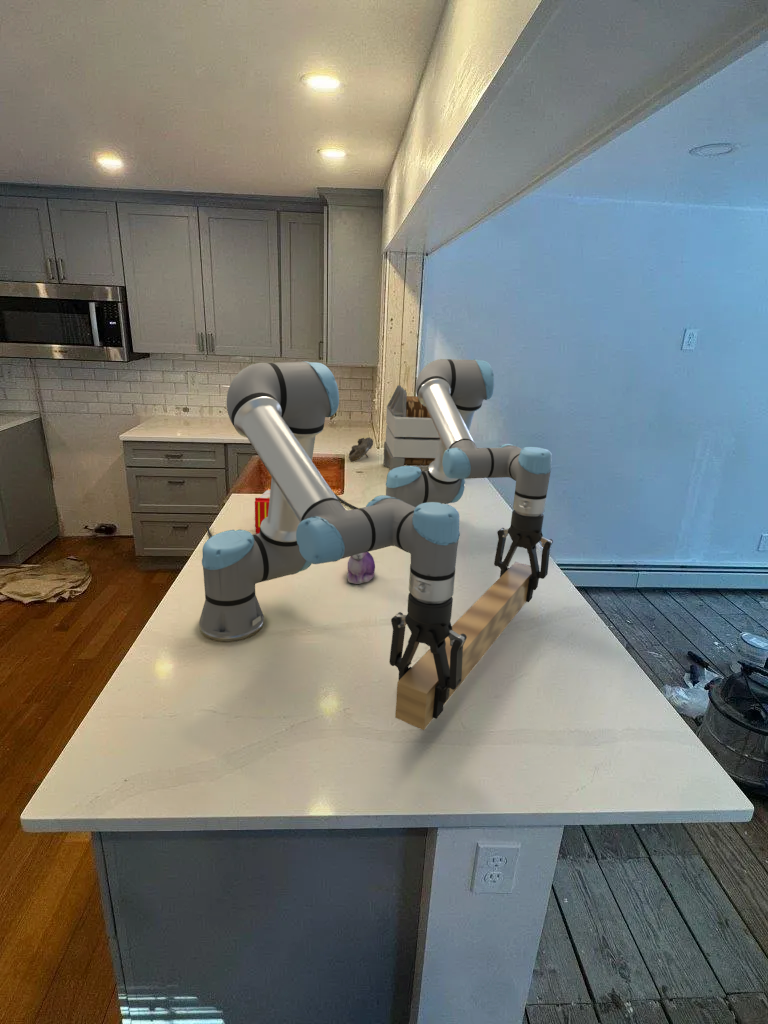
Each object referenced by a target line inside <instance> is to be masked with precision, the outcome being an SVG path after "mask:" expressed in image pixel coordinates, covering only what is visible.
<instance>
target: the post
mask: <svg viewBox="0 0 768 1024" xmlns="http://www.w3.org/2000/svg"><path fill="white" fill-rule="evenodd" d="M508 568H509V569H508V570H507V571H506V572H505V573H504V574H503V575H502V576H501V577H500V576H499V577H498V578H497V580H496V581H495V582H494V583H493V584H492V585H491V586H490V587H489V588H488V589H487V590H486V591H484V593H483V594H482V595H481V596H480V597H479V598H478V599H477V600H476V601H475V602H474V603H473V604H472V605H471V606H470V607H469V608H468V609H467V610H466V611H465V612H464V613H463V614H462V615H461V616H460V617H459V618H458V619H457V620H456V621H455V622H454V623H453V624H452V625H451V626H452V630H453V631H454V632H456V633H458V634H459V635H461V634H462V633H463V634H465V635H466V637H467V638H466V641H465V643H464V645H463V657H462V680H461V682H460V684H459V685H458V686H457V687H456V689H454V690H452V689H451V688H450V692H449V698H448V700H447V701H446V702H445V703H444V705H445V704H446V703H447V702H448V701H449V700H450V698H451V697H453V694H454V693H455V692H456V691H457V689H458V688H459V687H460V685H462V683H463V682H464V681H465V680H466V678H467V677H468V676H469V675H470V673H471V672H472V671H473V669H474V668H475V667H476V665H478V663H479V662H480V661H481V659H482V658H483V657H484V656H485V654H486V653H487V652H488V651H489V649H490V648H491V647H492V645H493V644H494V643H496V641H497V639H498V638H499V637H500V635H502V633H503V632H504V631H505V629H506V628H507V627H508V626H509V625H510V623H511V622H512V620H513V619H514V618H515V617H516V616H517V614H518V613H519V612H520V610H521V609H523V607H524V606H525V604H527V602H526V597H527V590H528V583H529V578H530V577H531V576H532V571H531V566H530V564H526V563H522V562H518V561H514V562H513V564H511V566H509V567H508ZM445 642H446V646H445V649H446V654H447V659H448V664H449V669H450V652H451V648H452V646H450V638H449V637H447V638H445ZM411 667H412V668H411V669H410V670H409V671H408V672H407V673H406V674H405V675H404V676H403V677H402V678H401V679H400V680H399V679H398V680H399V681H398V680H397V684H396V700H395V715H394V716H395V717H394V718H395V719H397V720H399V721H401V722H404V723H406V724H408V725H411V726H413V727H415V728H417V729H420V730H421V731H425V730H426V728H427V727H428V726H429V724H430V723H431V722H432V721H433V720H434V718H433V708H434V697H435V687H436V686H437V685H438V683H439V680H438V676H437V671H436V666H435V661H434V657H433V653H431V650H430V648H429V649H428V650H427V651H426V652H425V653H424V654H423V655H422V656H421V657H420V658H419V659H418V660H417V661H416V662H415V664H413V665H412V666H411Z"/></svg>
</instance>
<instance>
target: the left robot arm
mask: <svg viewBox="0 0 768 1024" xmlns="http://www.w3.org/2000/svg"><path fill="white" fill-rule="evenodd" d="M339 406H340V392H339V386H338V383H337V381H336V378H335V376H334V374H333V372H332V371H331V369H330V368H329V367H327V365H325V364H323V363H321V362H313V361H312V362H311V361H308V360H307V361H306V360H304V361H292V362H291V361H289V362H257V363H253V364H250V365H248V366H246V367H244V368H242V369H241V370H240V371H239V372H238V373H237V374H236V375H235V377H234V378H233V379H232V381H231V383H230V385H229V387H228V390H227V394H226V411H227V415H228V417H229V421H230V423H231V424H232V426H233V427H234V429H235V430H236V432H237V433H238V434H239V435H240V436H242V437H244V438H247V440H248V441H249V443H250V445H251V446H252V447H253V449H254V451H255V453H256V454H257V456H258V458H259V459H260V461H261V462H262V464H263V466H264V467H265V468H266V470H267V472H268V473H269V475H270V477H271V480H270V489H269V490H270V499H269V509H268V517H266V518H265V519H264V520H263V521H262V522H261V525H260V533H259V534H256V533H255V534H252V532H251V531H249V530H245V529H237V530H235V529H230V530H224V531H221V532H218V533H216V534H214V535H213V534H212V533H211V531H210V527H209V525H206V531H207V534H208V536H209V538H208V539H207V540H206V541H205V542H204V544H203V545H202V549H201V550H202V558H201V566H202V571H203V573H202V574H203V584H204V596H205V599H204V604H203V607H202V610H201V614H200V617H199V622H198V627H199V632H200V634H201V635H202V636H203V637H204V638H205V639H208V640H210V641H213V642H216V643H217V642H218V643H219V642H220V643H237V642H241V641H244V640H248V639H250V638H252V637H254V636H256V635H257V634H258V633H260V632H261V631H262V630H263V628H264V626H265V615H264V613H263V610H262V608H261V607H262V606H261V605H260V603H259V600H258V598H257V596H256V595H257V594H256V584H260V583H262V582H267V581H271V580H275V579H279V578H282V577H286V576H291V575H295V574H298V573H300V572H304V571H305V570H307V569H309V568H310V567H311V565H320V564H327V563H335V562H338V561H340V560H343V559H346V558H350V556H353V555H357V554H360V553H365V552H369V553H370V552H373V551H377V550H380V549H384V548H389V547H396V548H398V549H400V550H402V551H403V552H406V553H408V554H410V564H409V582H408V596H407V614H404V613H403V612H401V611H399V612H398V613H396V614H395V615H394V616H393V617H391V619H390V622H391V627H392V636H391V637H392V638H391V644H390V645H391V646H390V652H389V653H390V654H389V665H390V666H392V667H395V668H397V670H398V680H397V682H398V681H399V680H400V679H401V678H402V677H403V676H404V675H405V674H406V673H407V672H408V671H409V670H410V669H411V668H412V666H411V665H412V661H413V659H414V657H415V655H416V651H417V650H418V647H419V645H420V644H424V645H426V646H428V647H429V649H430V650H431V653H433V657H434V661H435V666H436V671H437V676H438V680H439V683H438V685H437V686H436V687H435V697H434V708H433V719H435V720H437V719H438V718H439V716H441V714H442V713H443V712H444V706H445V704H446V703H447V702H448V701H449V699H450V698H449V692H450V688H451V689H452V690H454V689H456V687H457V686H458V685H459V684H460V682H461V680H462V657H463V645H464V643H465V641H466V638H467V637H466V635H465V634H463V633H462V634H461V635H459V634H458V633H456V632H454V631H453V630H452V626H453V625H452V622H451V619H452V613H453V602H454V601H453V600H454V598H453V596H454V594H455V593H454V591H455V579H456V567H457V566H456V565H457V558H458V557H457V555H458V548H459V542H460V541H459V540H460V537H461V532H460V516H461V515H460V513H459V510H457V508H456V507H454V506H453V505H450V504H441V503H438V502H427V503H422V504H419V505H418V506H417V507H414V506H412V505H409V504H407V503H405V502H403V501H401V500H400V499H397V498H394V497H390V496H386V494H380V495H377V496H375V497H373V499H371V500H370V501H369V502H367V504H366V505H365V506H363V507H357V508H358V509H353V508H352V509H348V510H347V509H346V508H345V506H344V505H343V503H342V502H341V501H339V500H338V498H337V497H336V496H335V494H336V493H335V492H334V490H333V489H332V488H331V486H330V485H329V484H328V483H327V481H326V480H325V478H324V477H323V475H322V474H321V472H320V470H319V469H318V468H317V466H316V465H315V463H314V462H313V457H314V450H315V443H316V436H318V435H319V434H320V433H322V432H323V431H324V428H325V422H326V418H331V417H332V416H334V415H335V414H336V413H337V412H338V409H339ZM333 492H334V493H335V494H334V493H333ZM406 626H407V628H408V629H409V632H410V636H409V638H408V641H407V645H406V648H405V650H404V643H405V642H404V641H405V634H406ZM447 637H449V638H450V646H452V648H451V652H450V669H449V664H448V659H447V654H446V649H445V646H446V642H445V638H447ZM460 685H461V684H460ZM456 690H457V689H456ZM448 698H449V699H448ZM447 700H448V701H447ZM446 701H447V702H446ZM445 702H446V703H445ZM444 703H445V704H444Z"/></svg>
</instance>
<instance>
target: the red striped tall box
mask: <svg viewBox="0 0 768 1024" xmlns="http://www.w3.org/2000/svg"><path fill="white" fill-rule="evenodd" d="M269 499H270V489H266V490H264V492H263V493H262V494H261V495H260V496H259V497H255V498H254V527H255V534H259V533H260V525H261V522H262V521H263V520H264V519H265V518H266V517H268V509H269Z"/></svg>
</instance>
